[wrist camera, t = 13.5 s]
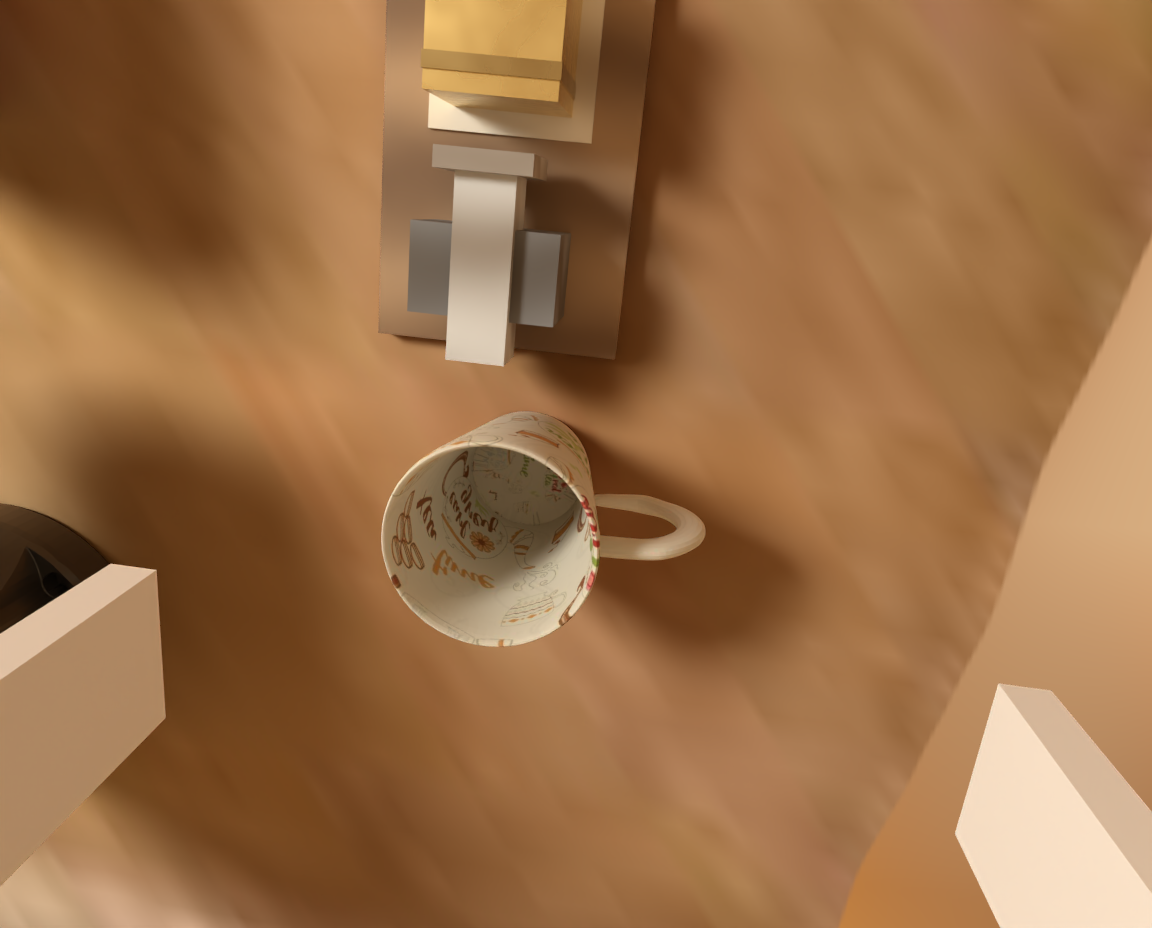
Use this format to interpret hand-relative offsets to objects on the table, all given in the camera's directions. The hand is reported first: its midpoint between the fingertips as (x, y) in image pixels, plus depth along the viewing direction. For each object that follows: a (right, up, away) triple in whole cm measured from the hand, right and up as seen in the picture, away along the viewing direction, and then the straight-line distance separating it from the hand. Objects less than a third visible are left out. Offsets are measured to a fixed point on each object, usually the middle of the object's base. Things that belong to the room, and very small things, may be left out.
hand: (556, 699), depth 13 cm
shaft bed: (-2, +22, +22) cm, 31 cm away
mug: (0, +3, +27) cm, 27 cm away
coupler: (-2, +21, +21) cm, 30 cm away
